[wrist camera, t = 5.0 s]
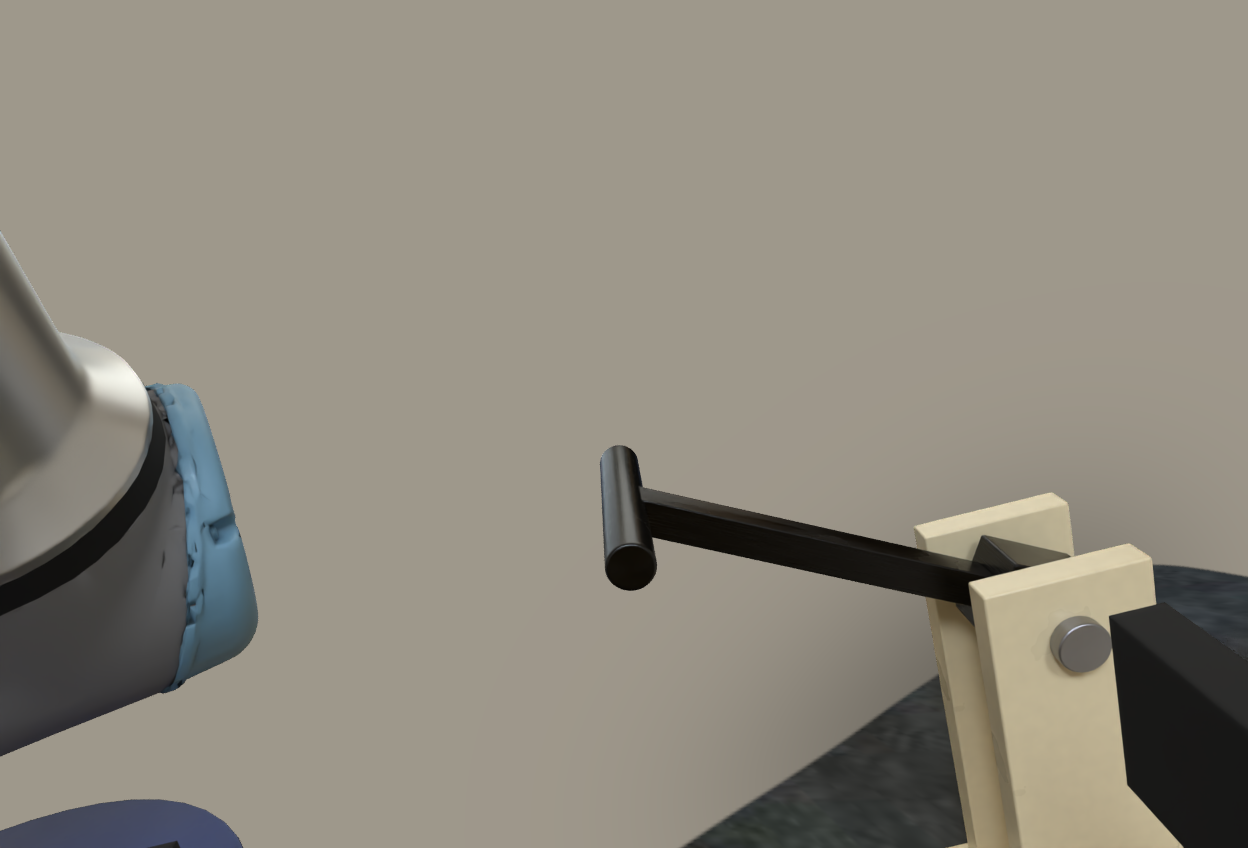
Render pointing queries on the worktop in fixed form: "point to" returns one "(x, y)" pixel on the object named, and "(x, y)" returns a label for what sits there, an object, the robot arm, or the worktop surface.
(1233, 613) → the worktop surface
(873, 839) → the worktop surface
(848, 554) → the lever
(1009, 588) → the bracket
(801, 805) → the worktop surface
